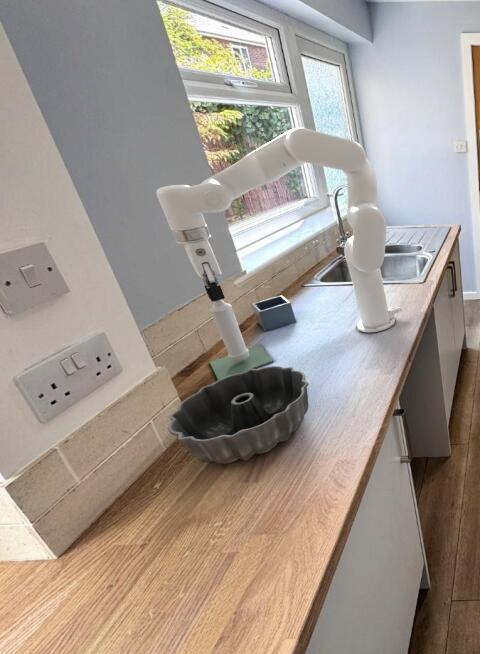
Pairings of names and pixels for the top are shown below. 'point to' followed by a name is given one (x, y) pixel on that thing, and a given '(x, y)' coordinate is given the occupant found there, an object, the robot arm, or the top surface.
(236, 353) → the bottle
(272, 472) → the top surface
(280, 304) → the box
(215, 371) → the mat
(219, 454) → the bundt pan
